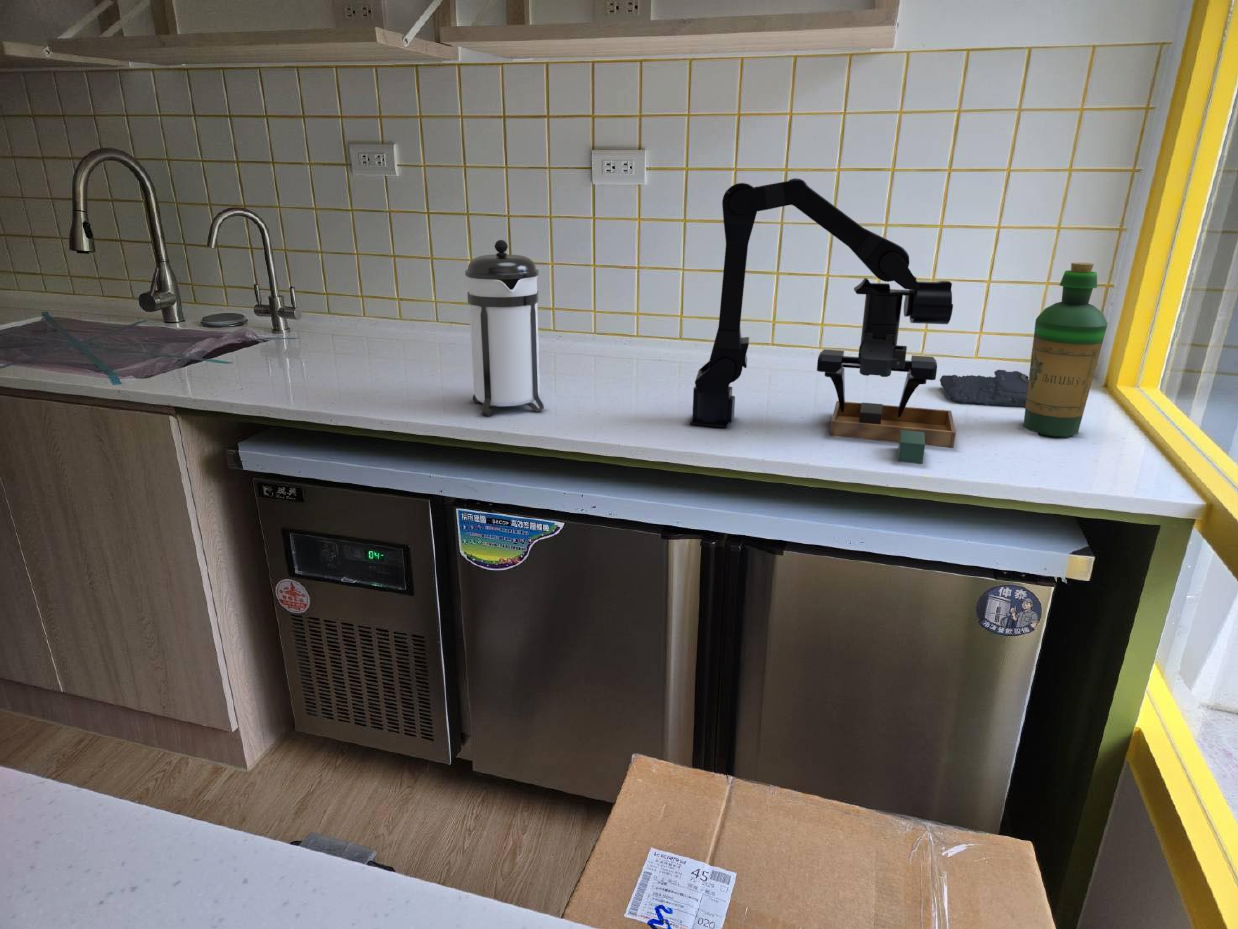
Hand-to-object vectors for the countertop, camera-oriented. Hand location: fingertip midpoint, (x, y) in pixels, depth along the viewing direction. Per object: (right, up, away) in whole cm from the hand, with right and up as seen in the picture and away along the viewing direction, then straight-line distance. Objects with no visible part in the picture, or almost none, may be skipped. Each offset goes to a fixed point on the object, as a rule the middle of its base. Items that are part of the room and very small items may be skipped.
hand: (870, 414), depth 139 cm
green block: (+2, -8, -12) cm, 15 cm away
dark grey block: (0, -2, +1) cm, 2 cm away
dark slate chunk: (+32, +5, +23) cm, 40 cm away
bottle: (+31, -3, +2) cm, 31 cm away
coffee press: (-64, +2, +15) cm, 66 cm away
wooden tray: (+3, -3, 0) cm, 5 cm away
